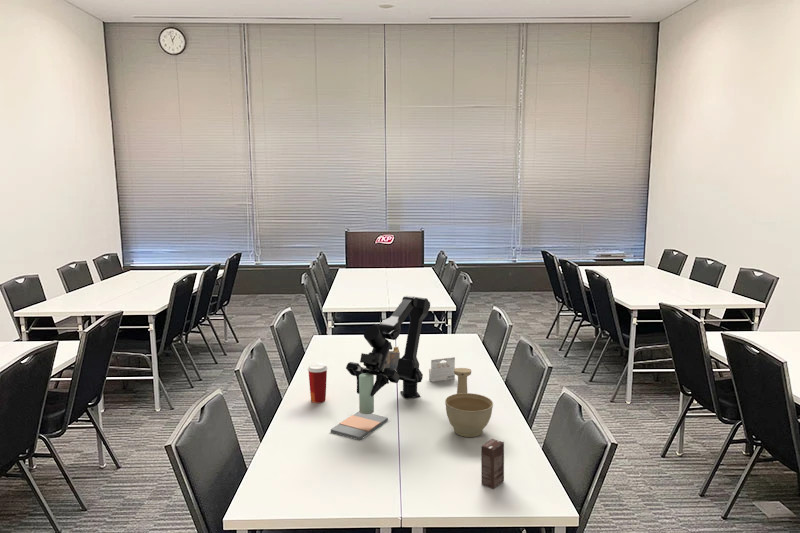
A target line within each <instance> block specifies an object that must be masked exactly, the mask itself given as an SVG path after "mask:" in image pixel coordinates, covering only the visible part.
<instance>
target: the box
mask: <svg viewBox="0 0 800 533" xmlns="http://www.w3.org/2000/svg"><path fill="white" fill-rule="evenodd" d="M480 448H481V453H480V454H481V458H480V460H481V468H480V469H481V470H480V471H481V475H480V476H481V478H480V479H481V481H480V482H481V485H482V486H485V487H486V488H489V489H492V490H494V489H495V488H497V487H498V486H500V485H501V484H502V483H503V482H504V481H505V442H504V441H501V440H498V439H494V438H491V439H489V440H488V441H487V442H485V443H484V444H482V445H481V447H480Z"/></svg>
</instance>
